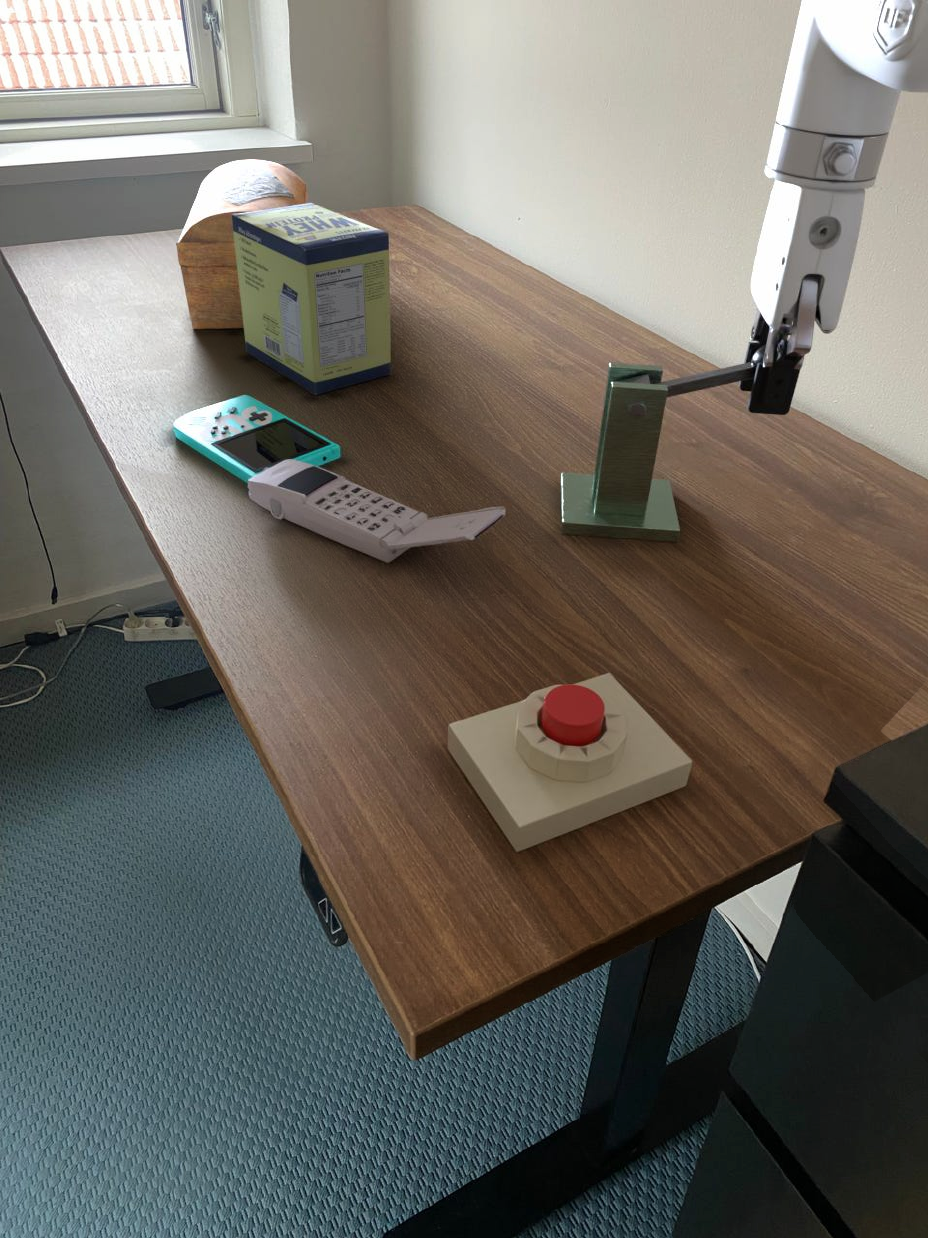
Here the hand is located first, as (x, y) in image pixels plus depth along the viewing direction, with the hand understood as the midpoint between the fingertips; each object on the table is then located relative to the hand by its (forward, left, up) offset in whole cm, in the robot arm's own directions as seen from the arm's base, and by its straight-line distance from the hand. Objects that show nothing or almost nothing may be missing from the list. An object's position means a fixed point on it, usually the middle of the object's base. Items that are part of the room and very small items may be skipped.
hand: (762, 399), depth 76 cm
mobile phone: (+32, +7, -12) cm, 35 cm away
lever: (+4, 0, 0) cm, 5 cm away
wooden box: (+56, -53, -12) cm, 78 cm away
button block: (+15, +32, -11) cm, 37 cm away
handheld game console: (+46, -8, -12) cm, 48 cm away
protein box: (+43, -29, -12) cm, 53 cm away
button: (+15, +32, -8) cm, 36 cm away
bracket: (+10, 0, -11) cm, 15 cm away
